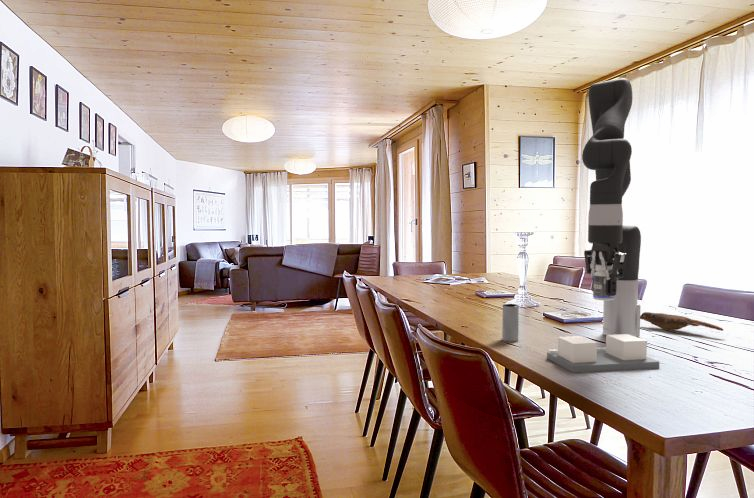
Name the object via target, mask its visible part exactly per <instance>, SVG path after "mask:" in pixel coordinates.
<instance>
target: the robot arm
mask: <svg viewBox="0 0 754 498" xmlns="http://www.w3.org/2000/svg"><path fill="white" fill-rule="evenodd" d="M587 98H588V107H589V114H590V115H589V116H590V121H591V128H592V129H591V130H592V136H591V137H590V138H589V139H588V141H587V142H586V143H585V145H584V148H583V151H582V155H581V157H582V158H581V160H582V163H583V165H584V166H585V167H586V168H587V169H589V170H592V171H595V180H593V181H592V182H591V183H590V185H589V210H588V224H587V225H588V226H587V228H588V229H587V241H588V243H589V244H592V246H591V249H587V250H584V251H583V253H584V255H583V256H584V262H585V270H586V274H589V275H590V277H591V278H592V279H591V280H592V281H591V282H592V286H591V287H592V288H591V289H592V292H593V283H594V273H595V272H596V269H595V266H596V264H598V265H602V268H603V270H604V271H605V274H606V279H607V280H606V295H608V296H614V300H610V301H603V304H602V305H603V307H602V309H603V310H602V311H603V313H602V314H603V315H602V318H603V319H602V335H604V336H606V335H617V334H629V335H632V336H635V337H638V338H639V337H641V336H640V335H641V334H640V333H641V319H640V316H641V305H640V303H639V304H638V302H639V301H638V300H639V299H638V294H639V293H638V292H639V270H640V256H641V255H640V254H641V244H642V243H641V241H642V235H641V230H640V229H639V227H638V226H635V225H623V221H624V212H623V197H624V195H625V194H626V192H627V190H628V188H629V187H630V184H631V181H632V177H631V176H632V175H631V174H632V173H631V157H632V153H633V152H632V151H633V150H632V145H631V143H630V142H629V140H627V139H625V124H626V121H627V119H628V117H629V114H630V113H631V108H632V104H633V88H632V83H631V81H630V80H629V79H627V78H625V77H624V78H622V77H621V78H615V79H610V80H606V81H605V80H604V81H601V82H596V83H592V84H591V85H589V89H588V97H587ZM612 265H613V266H612ZM610 270H612V272H611V274H610Z"/></svg>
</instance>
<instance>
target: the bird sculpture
mask: <svg viewBox="0 0 754 498" xmlns="http://www.w3.org/2000/svg"><path fill="white" fill-rule="evenodd" d="M640 320H643V321H645V322H649V323H650V324H651V325H654V326H656V327H657V328H660V329H662V330H665V331H675V330H681V329H683V328H686V327H687V326H692V327H699V326H700V327H701V326H702V327H706V328H709V329H713V330H717V331H722V332H723V331H724V328H722V327H719V325H715V324H711V323H709V322H705V321H702V320H698V319H692V318H689V317H686V316H682V315H677V314H676V315H675V314H668V313H667V314H666V313H660V312H657V313H656V312H649V311H648V312H647V311H644V312H643V313H642V314H640Z"/></svg>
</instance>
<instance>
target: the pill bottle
mask: <svg viewBox="0 0 754 498" xmlns="http://www.w3.org/2000/svg"><path fill="white" fill-rule="evenodd" d="M612 266H613V265H612ZM595 269H596V272H595V273H594V283H592V284H593V291H592V297H593V299H594V300H597V301H603V302H604V301H610V300H614V296H608V295H606V280H607V279H606V274H605V271H604V270H603V268H602V265H598V264H596V266H595ZM611 272H612V270H610V274H611Z"/></svg>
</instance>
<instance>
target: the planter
mask: <svg viewBox="0 0 754 498" xmlns="http://www.w3.org/2000/svg"><path fill="white" fill-rule="evenodd" d="M519 312H520V306H519V304H516V303H504V304H502V326H501V328H502V331H501V332H502V333H501V335H502V338H501V339H502V340H503V341H504V342H511V343H513V342H515V343H516V342H518V341H519V327H520V325H519V322H520V321H519V317H520V313H519Z"/></svg>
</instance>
